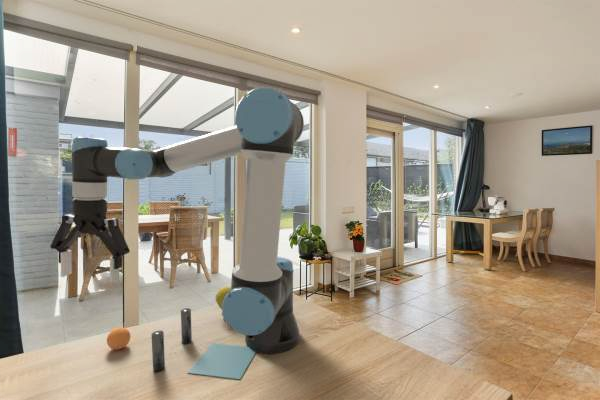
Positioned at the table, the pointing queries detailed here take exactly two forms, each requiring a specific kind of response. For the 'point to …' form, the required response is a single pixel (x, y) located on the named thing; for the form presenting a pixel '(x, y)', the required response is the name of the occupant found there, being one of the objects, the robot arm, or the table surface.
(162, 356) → the left post
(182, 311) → the right post
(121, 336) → the ball
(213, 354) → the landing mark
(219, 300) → the light bulb
